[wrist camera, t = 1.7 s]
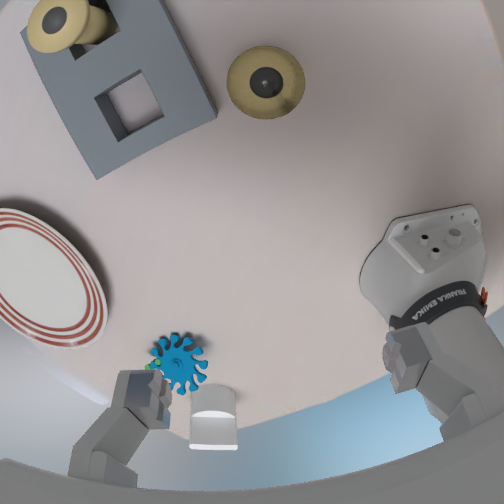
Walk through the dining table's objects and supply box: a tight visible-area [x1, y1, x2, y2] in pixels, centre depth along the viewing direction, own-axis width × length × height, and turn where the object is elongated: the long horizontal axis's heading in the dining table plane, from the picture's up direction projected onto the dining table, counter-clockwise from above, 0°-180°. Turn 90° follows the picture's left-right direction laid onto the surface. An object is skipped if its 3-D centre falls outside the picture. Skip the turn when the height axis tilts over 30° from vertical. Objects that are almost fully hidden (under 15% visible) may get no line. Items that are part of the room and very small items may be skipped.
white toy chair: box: [189, 384, 238, 450], centre depth 54 cm, size 9×9×12 cm
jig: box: [20, 0, 218, 180], centre depth 22 cm, size 20×14×10 cm
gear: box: [145, 334, 208, 395], centre depth 49 cm, size 11×6×10 cm
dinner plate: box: [0, 208, 108, 350], centre depth 39 cm, size 28×27×3 cm
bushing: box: [227, 46, 305, 119], centre depth 24 cm, size 6×6×10 cm
